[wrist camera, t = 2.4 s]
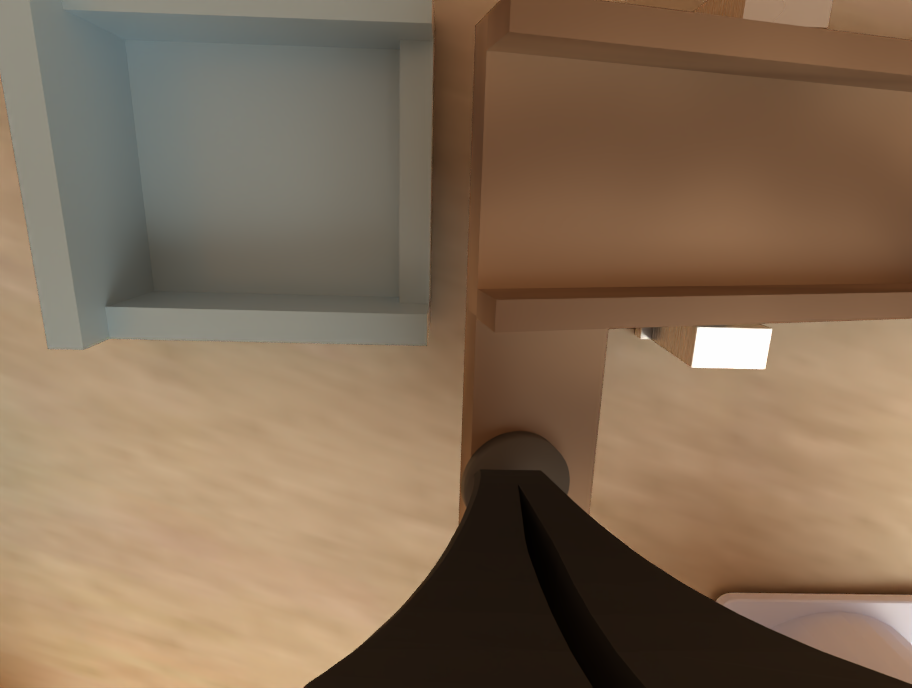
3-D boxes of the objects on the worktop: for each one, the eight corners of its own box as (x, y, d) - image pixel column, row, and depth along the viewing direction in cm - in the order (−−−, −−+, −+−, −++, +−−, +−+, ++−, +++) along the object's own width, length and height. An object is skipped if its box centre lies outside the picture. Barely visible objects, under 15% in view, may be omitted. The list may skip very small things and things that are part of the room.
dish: (429, 323, 16) (425, 357, 13) (132, 316, 16) (47, 349, 12) (434, 18, 14) (430, -40, 11) (93, 5, 14) (-23, -57, 10)
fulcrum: (714, 336, 16) (777, 369, 13) (634, 334, 16) (679, 367, 13) (763, 22, 14) (852, -28, 11) (671, 18, 14) (735, -32, 11)
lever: (930, 465, 18) (1035, 511, 15) (443, 524, 14) (472, 600, 11) (1035, 89, 15) (1188, 68, 12) (455, 27, 11) (499, -24, 8)
